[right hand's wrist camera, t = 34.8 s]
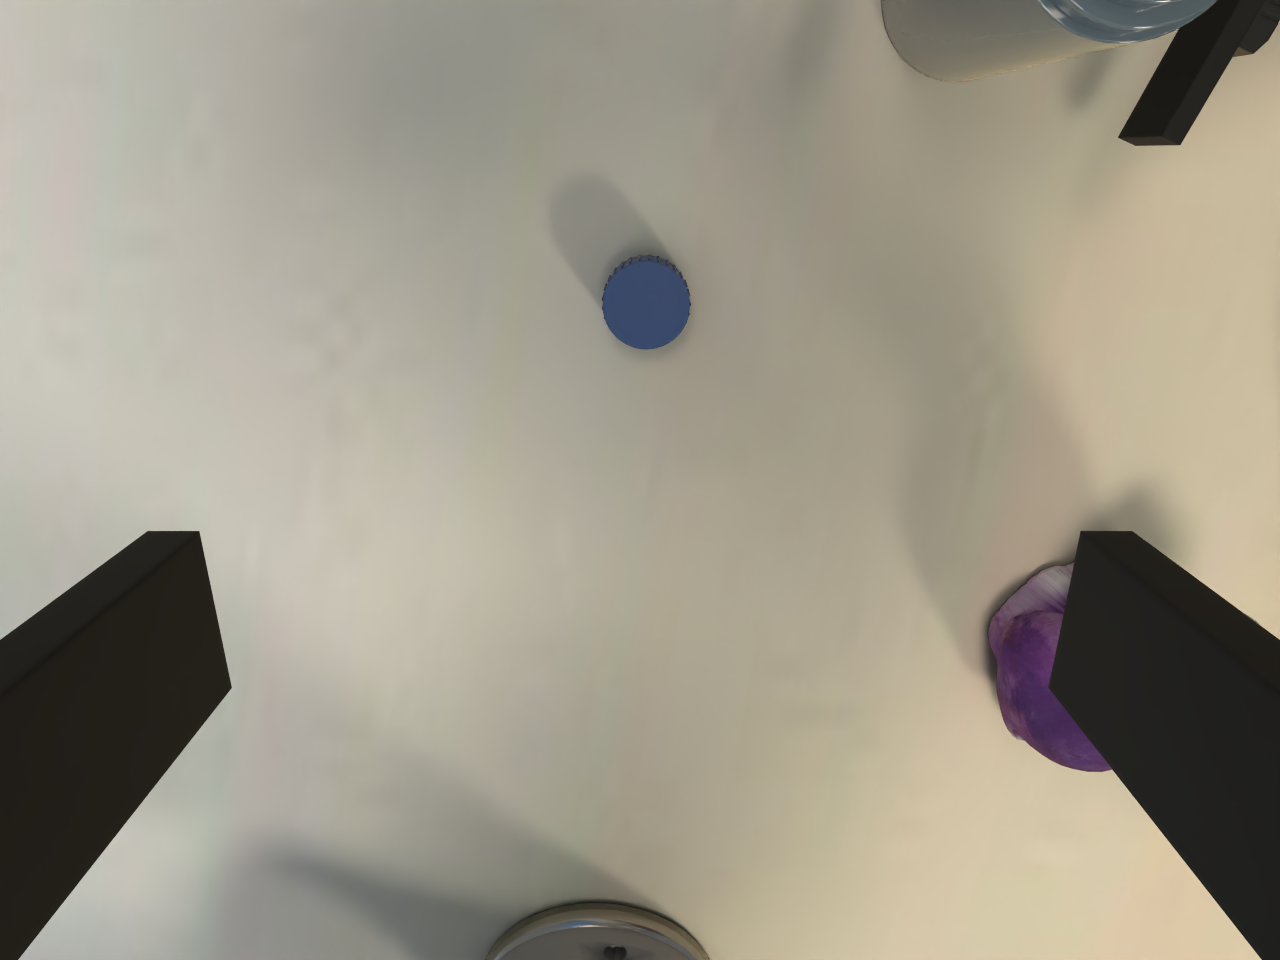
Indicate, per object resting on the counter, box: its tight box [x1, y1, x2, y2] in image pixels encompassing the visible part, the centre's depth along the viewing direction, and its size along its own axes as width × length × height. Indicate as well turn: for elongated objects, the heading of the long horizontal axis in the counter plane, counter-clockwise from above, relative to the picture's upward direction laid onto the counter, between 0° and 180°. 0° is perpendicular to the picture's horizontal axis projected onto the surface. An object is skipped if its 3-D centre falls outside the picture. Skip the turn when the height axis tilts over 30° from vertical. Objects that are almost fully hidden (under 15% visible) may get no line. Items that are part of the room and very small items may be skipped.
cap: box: [602, 255, 691, 349], centre depth 36 cm, size 4×4×2 cm
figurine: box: [988, 562, 1258, 772], centre depth 36 cm, size 9×10×15 cm
